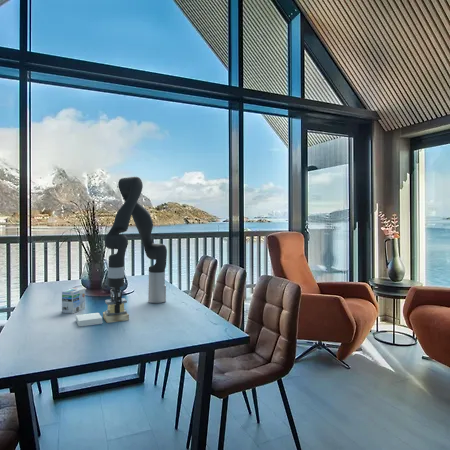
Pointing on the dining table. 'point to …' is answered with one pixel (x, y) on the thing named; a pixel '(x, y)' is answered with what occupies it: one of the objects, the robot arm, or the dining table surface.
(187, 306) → the dining table surface
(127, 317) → the stand
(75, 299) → the light bulb box
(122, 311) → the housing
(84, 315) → the stand
